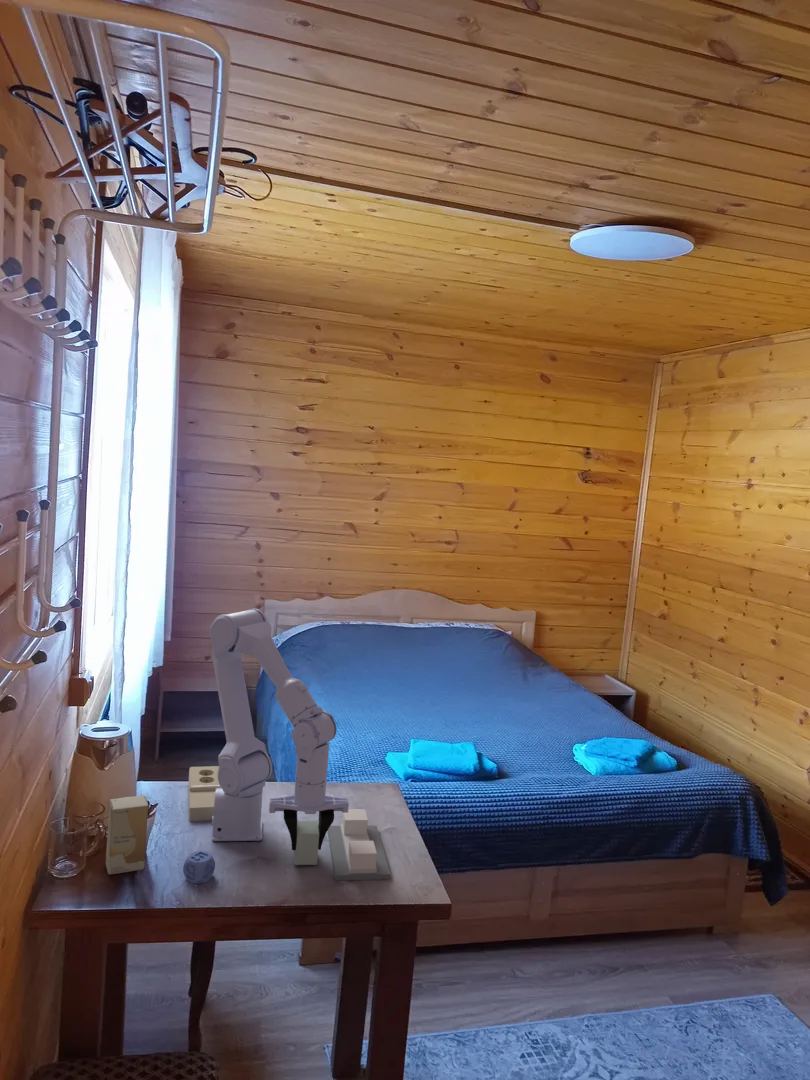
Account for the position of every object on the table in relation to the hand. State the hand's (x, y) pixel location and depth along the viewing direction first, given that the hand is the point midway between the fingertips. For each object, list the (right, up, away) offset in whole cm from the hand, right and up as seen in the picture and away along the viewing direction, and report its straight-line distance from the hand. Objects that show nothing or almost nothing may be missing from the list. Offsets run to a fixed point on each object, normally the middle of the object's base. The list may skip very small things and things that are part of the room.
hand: (306, 847), depth 147 cm
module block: (0, -2, 0) cm, 2 cm away
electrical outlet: (-24, +1, +21) cm, 32 cm away
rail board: (+9, -3, +4) cm, 11 cm away
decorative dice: (-18, -2, -8) cm, 20 cm away
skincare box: (-31, -1, -7) cm, 32 cm away
